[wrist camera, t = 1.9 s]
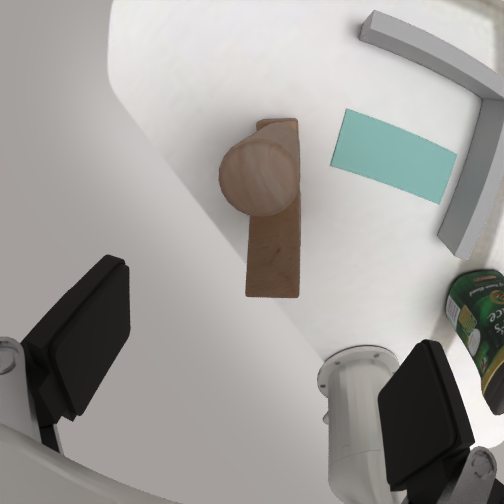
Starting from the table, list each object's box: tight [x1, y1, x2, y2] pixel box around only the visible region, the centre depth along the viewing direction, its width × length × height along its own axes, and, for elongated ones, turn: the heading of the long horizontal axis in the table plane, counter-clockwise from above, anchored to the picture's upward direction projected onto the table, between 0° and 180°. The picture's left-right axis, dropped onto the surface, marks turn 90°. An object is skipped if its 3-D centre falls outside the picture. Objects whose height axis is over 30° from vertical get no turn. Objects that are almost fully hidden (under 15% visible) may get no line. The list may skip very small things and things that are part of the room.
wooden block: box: [219, 118, 301, 298], centre depth 22 cm, size 4×11×18 cm, turn 4°
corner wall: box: [359, 10, 504, 261], centre depth 24 cm, size 19×17×5 cm
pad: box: [331, 109, 457, 204], centre depth 27 cm, size 6×13×1 cm, turn 77°
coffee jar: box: [446, 271, 504, 415], centre depth 25 cm, size 10×8×19 cm
